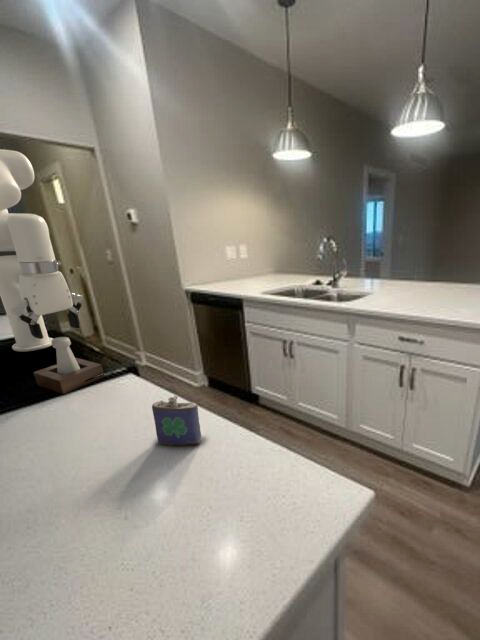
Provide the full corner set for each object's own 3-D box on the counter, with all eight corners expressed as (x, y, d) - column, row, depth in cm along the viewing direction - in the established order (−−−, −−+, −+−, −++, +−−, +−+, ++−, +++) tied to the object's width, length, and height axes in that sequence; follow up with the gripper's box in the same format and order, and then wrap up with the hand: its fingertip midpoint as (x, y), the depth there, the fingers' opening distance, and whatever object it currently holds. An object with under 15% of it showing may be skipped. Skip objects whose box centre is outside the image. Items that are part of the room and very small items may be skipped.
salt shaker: (72, 386, 95) (59, 342, 90) (54, 384, 96) (41, 341, 91) (88, 377, 101) (77, 335, 96) (71, 375, 102) (59, 334, 97)
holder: (37, 385, 96) (33, 372, 95) (79, 369, 106) (75, 357, 105) (63, 394, 91) (59, 380, 90) (104, 376, 101) (101, 364, 100)
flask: (203, 438, 73) (197, 394, 69) (199, 447, 70) (192, 401, 66) (161, 437, 73) (152, 393, 69) (155, 445, 71) (145, 400, 67)
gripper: (65, 263, 95) (79, 322, 102) (-9, 271, 81) (14, 339, 88) (82, 265, 92) (96, 326, 99) (8, 274, 78) (31, 344, 85)
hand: (57, 332), depth 93 cm, fingers open, 9 cm apart
